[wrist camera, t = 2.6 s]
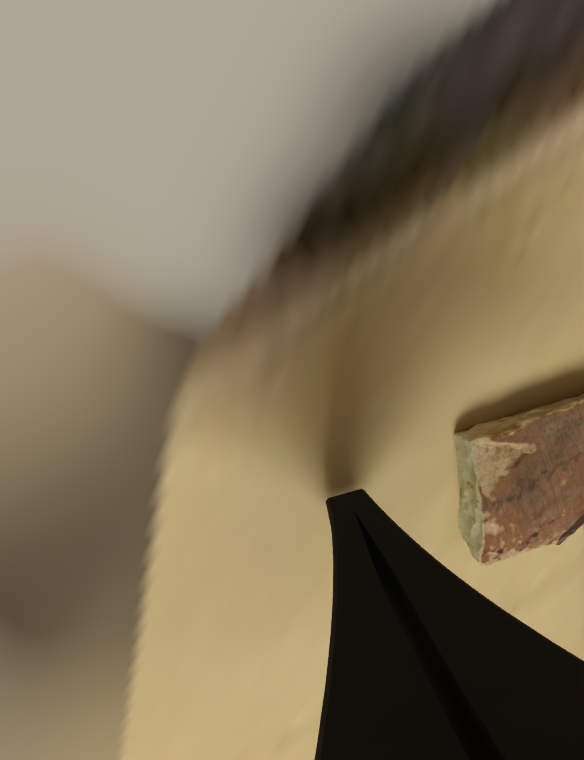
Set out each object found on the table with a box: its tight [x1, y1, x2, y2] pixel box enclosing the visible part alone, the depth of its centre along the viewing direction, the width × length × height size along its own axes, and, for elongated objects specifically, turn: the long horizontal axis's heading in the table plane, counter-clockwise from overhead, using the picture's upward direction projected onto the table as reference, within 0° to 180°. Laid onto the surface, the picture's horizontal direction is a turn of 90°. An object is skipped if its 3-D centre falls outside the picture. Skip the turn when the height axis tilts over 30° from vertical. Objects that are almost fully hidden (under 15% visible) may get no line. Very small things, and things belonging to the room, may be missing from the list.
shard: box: [453, 393, 584, 566], centre depth 12 cm, size 11×8×2 cm
